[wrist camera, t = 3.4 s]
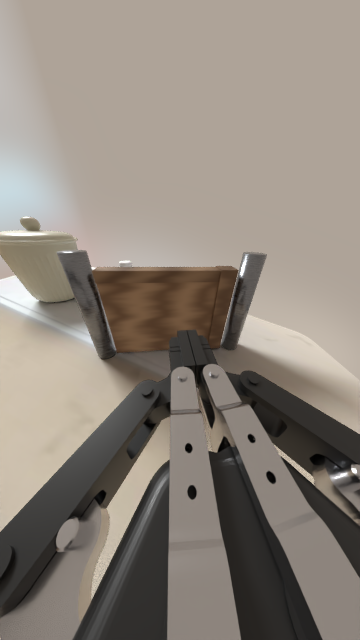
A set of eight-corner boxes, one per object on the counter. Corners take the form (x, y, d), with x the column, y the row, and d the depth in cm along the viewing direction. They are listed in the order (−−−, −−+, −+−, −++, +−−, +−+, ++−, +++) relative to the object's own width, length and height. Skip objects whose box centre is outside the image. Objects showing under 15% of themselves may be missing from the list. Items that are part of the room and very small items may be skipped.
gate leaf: (116, 354, 25) (90, 270, 17) (119, 345, 27) (97, 265, 19) (219, 347, 27) (238, 270, 19) (215, 339, 29) (231, 266, 21)
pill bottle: (140, 287, 55) (136, 260, 50) (133, 292, 50) (128, 263, 45) (127, 286, 56) (122, 259, 50) (119, 291, 51) (113, 262, 46)
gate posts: (96, 359, 25) (50, 253, 16) (101, 347, 27) (65, 249, 18) (238, 349, 28) (271, 255, 19) (232, 339, 30) (258, 252, 21)
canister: (103, 287, 54) (85, 219, 43) (71, 310, 39) (29, 215, 27) (57, 285, 54) (26, 217, 43) (7, 307, 39) (-62, 212, 28)
